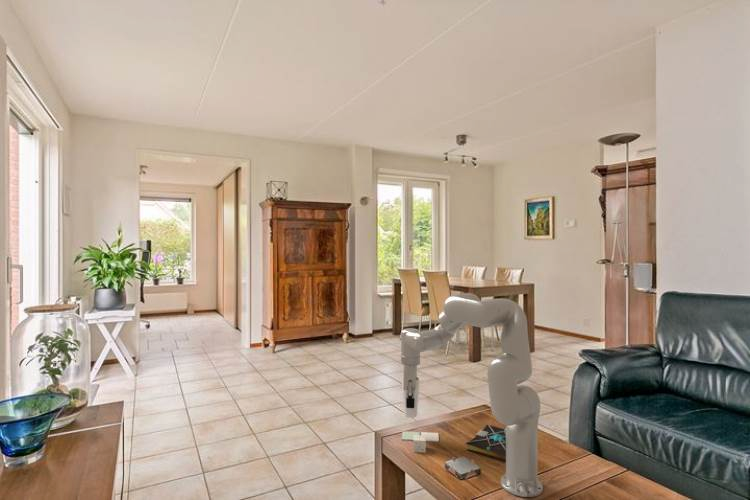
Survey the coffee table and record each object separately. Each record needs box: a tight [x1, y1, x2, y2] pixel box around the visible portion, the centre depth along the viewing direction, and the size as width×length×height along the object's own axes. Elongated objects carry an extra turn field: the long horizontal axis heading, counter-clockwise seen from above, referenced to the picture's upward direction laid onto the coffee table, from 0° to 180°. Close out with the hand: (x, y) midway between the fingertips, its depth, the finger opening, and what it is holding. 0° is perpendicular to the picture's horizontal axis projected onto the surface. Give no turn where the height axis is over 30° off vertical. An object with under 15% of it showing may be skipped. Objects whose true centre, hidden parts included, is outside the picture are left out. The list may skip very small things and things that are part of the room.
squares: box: [401, 430, 440, 443], centre depth 172 cm, size 7×14×1 cm, turn 84°
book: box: [465, 423, 506, 463], centre depth 164 cm, size 22×17×5 cm
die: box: [412, 434, 427, 454], centre depth 161 cm, size 4×4×5 cm
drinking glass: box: [401, 376, 420, 419], centre depth 172 cm, size 7×7×15 cm
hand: (410, 404), depth 172 cm, fingers closed on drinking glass, 6 cm apart
